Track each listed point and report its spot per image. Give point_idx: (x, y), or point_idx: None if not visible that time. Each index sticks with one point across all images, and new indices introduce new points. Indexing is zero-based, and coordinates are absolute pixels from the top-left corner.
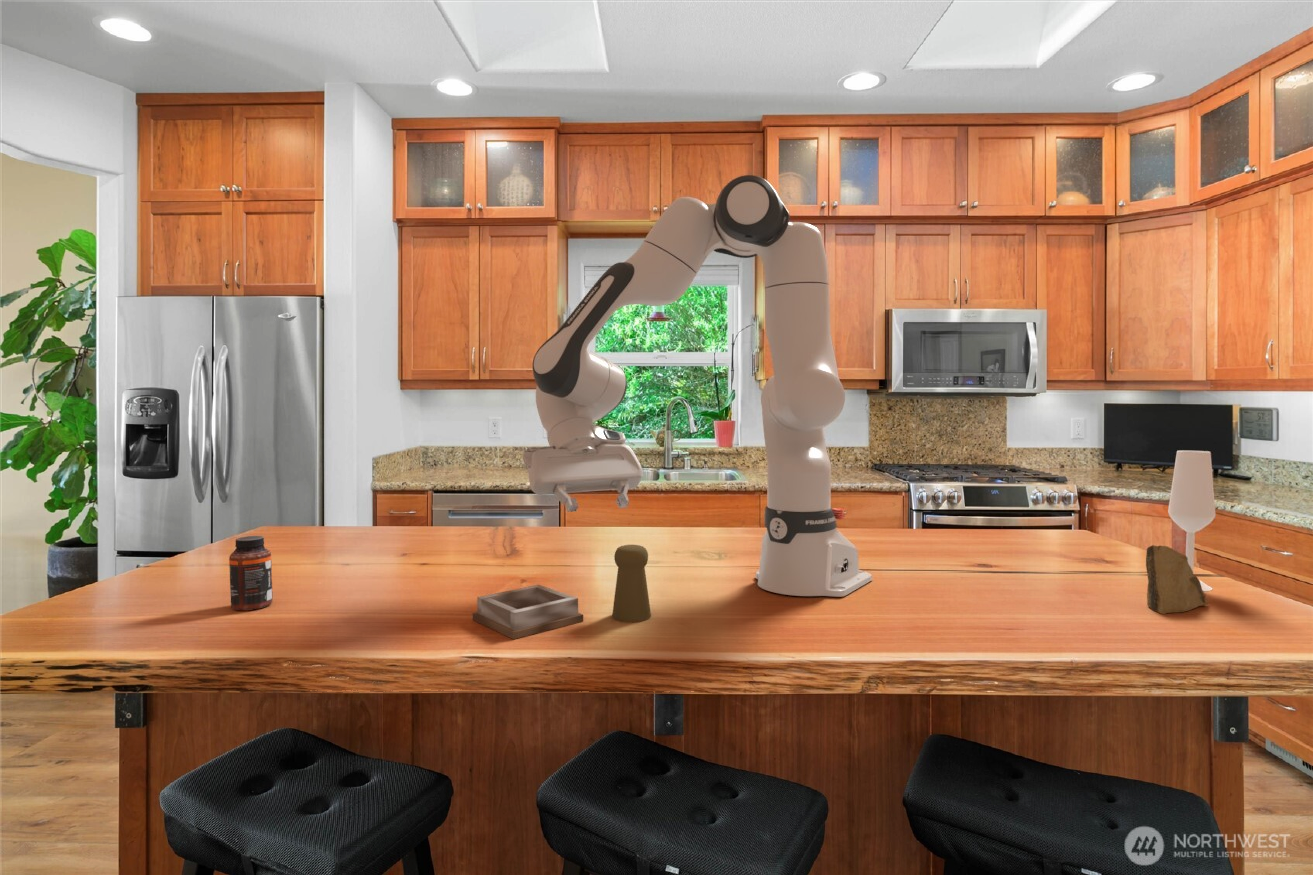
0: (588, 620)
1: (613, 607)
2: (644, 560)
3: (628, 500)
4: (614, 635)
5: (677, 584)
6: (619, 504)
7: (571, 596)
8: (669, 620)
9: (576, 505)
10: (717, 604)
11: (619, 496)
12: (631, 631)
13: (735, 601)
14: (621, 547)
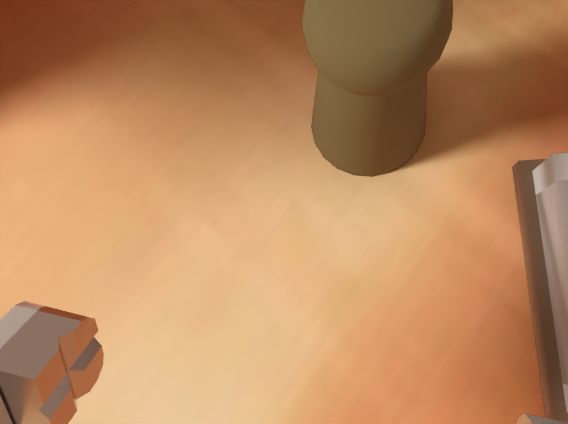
0: (493, 165)
1: (419, 135)
2: None
3: (21, 304)
4: (503, 21)
5: (35, 301)
6: (90, 358)
7: (562, 186)
8: None
9: (546, 418)
10: (116, 67)
11: (50, 363)
12: None
13: (62, 59)
14: (425, 4)
